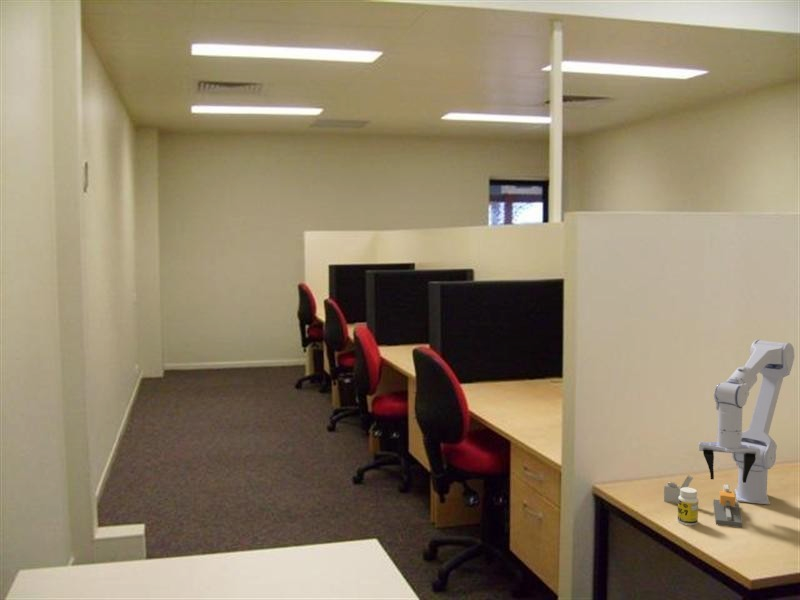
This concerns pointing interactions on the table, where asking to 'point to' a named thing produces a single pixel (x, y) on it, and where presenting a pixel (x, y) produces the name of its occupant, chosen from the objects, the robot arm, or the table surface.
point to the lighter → (674, 490)
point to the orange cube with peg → (727, 498)
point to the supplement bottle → (688, 506)
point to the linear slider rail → (727, 513)
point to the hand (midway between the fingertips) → (728, 479)
